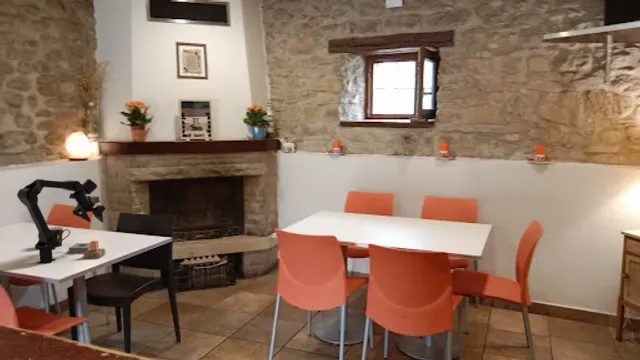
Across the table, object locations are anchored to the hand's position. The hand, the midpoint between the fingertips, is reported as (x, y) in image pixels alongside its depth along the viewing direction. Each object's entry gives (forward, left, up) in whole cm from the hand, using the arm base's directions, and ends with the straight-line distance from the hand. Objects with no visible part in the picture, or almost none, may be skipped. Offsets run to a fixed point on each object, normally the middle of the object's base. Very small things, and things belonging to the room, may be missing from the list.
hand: (96, 221), depth 283 cm
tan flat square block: (-18, -5, -15) cm, 24 cm away
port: (-6, +6, -15) cm, 17 cm away
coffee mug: (+6, +24, -15) cm, 29 cm away
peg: (-18, -5, -15) cm, 24 cm away
